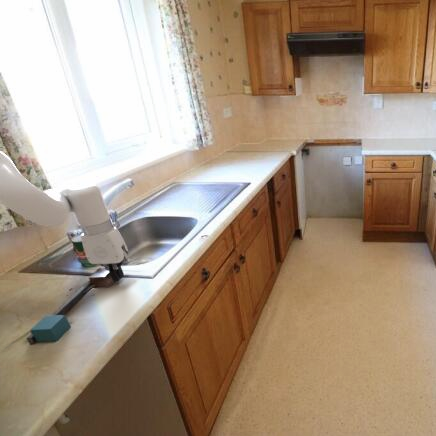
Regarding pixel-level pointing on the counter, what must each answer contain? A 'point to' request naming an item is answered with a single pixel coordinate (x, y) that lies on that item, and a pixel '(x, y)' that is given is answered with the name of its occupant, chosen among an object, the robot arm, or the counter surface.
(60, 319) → the teal block
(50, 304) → the counter surface
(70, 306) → the rail
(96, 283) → the walnut block
